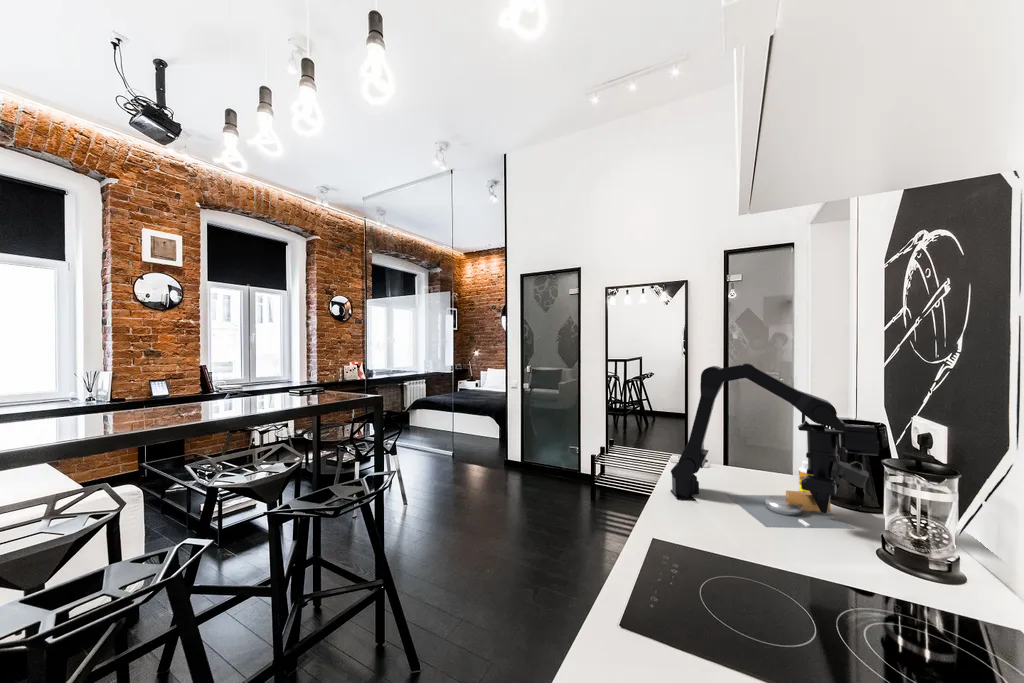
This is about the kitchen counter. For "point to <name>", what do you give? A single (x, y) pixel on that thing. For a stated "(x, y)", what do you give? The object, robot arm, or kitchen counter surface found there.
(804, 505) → the dial
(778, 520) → the board
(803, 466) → the supplement bottle
